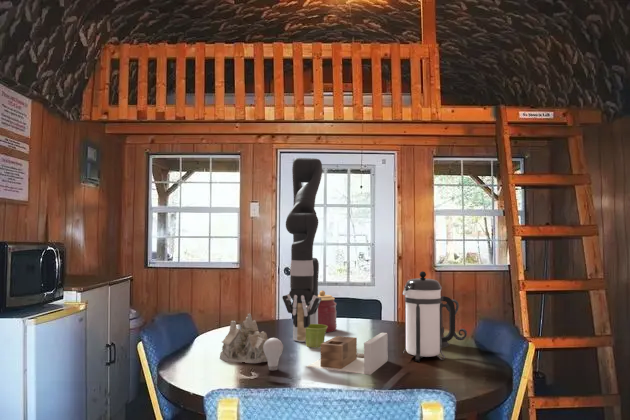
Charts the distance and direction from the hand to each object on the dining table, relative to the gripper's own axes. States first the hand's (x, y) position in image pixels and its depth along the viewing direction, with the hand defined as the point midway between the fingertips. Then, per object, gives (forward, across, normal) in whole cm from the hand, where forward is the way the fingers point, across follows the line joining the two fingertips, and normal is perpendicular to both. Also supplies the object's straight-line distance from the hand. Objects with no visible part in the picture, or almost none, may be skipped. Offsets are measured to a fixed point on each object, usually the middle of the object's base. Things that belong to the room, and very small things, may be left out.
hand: (301, 326), depth 169 cm
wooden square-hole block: (+11, +12, +4) cm, 17 cm away
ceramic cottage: (+13, -22, +1) cm, 26 cm away
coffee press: (+13, +34, +30) cm, 47 cm away
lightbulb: (+13, -4, -12) cm, 18 cm away
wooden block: (+13, +19, +15) cm, 28 cm away
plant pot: (+13, -6, +24) cm, 28 cm away
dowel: (+4, 0, 0) cm, 4 cm away
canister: (+14, -19, +61) cm, 65 cm away
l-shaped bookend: (+13, +15, +4) cm, 20 cm away
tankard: (+14, +33, +53) cm, 64 cm away
